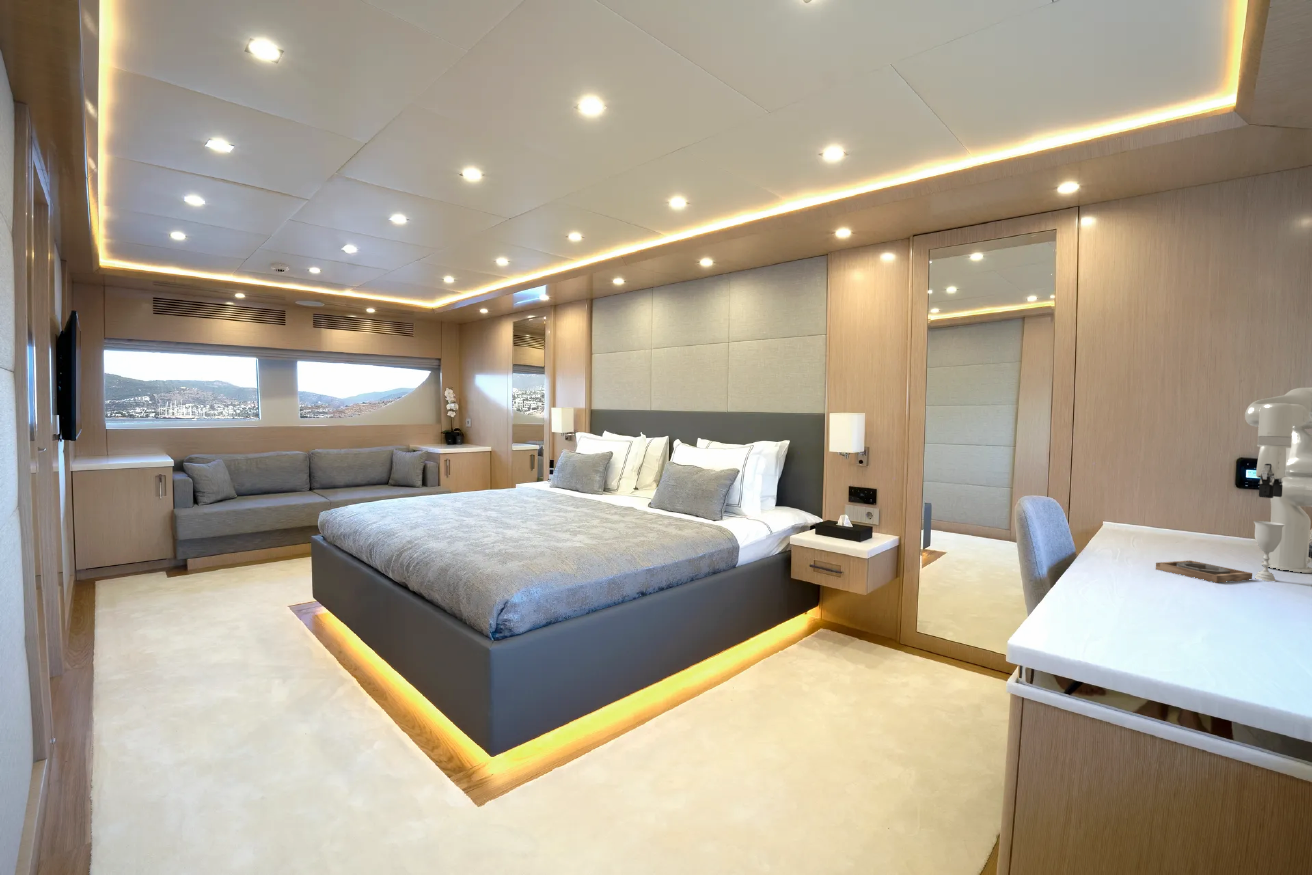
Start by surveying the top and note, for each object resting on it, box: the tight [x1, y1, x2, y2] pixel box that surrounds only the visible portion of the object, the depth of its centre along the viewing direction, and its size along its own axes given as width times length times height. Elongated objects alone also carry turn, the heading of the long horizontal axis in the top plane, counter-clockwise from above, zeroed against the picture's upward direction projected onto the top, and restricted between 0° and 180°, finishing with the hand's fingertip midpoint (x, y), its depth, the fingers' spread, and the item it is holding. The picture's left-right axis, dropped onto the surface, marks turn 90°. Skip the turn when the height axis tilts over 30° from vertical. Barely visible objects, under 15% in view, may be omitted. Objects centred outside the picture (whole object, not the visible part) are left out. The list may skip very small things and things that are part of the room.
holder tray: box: [1155, 560, 1253, 584], centre depth 197 cm, size 17×17×2 cm
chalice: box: [1252, 520, 1285, 582], centre depth 193 cm, size 7×7×18 cm
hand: (1270, 496), depth 192 cm, fingers open, 9 cm apart
